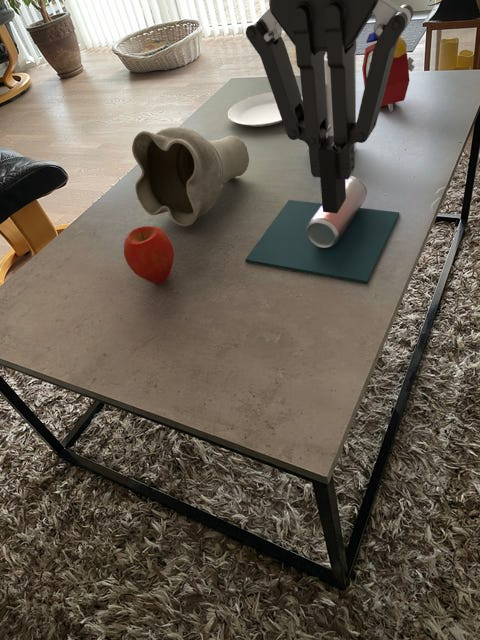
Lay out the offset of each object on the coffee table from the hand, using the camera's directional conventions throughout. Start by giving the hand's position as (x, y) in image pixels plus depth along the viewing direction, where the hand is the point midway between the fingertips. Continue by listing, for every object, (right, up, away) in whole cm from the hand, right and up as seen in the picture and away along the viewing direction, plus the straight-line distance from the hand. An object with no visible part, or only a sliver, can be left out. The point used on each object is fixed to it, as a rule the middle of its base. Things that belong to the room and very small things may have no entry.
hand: (334, 204), depth 48 cm
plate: (-2, +44, +83) cm, 94 cm away
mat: (+6, +3, +40) cm, 40 cm away
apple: (-24, -5, +39) cm, 46 cm away
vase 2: (+11, +27, +63) cm, 69 cm away
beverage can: (+4, +3, +34) cm, 35 cm away
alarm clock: (+28, +43, +75) cm, 91 cm away
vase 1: (-15, +15, +57) cm, 60 cm away
